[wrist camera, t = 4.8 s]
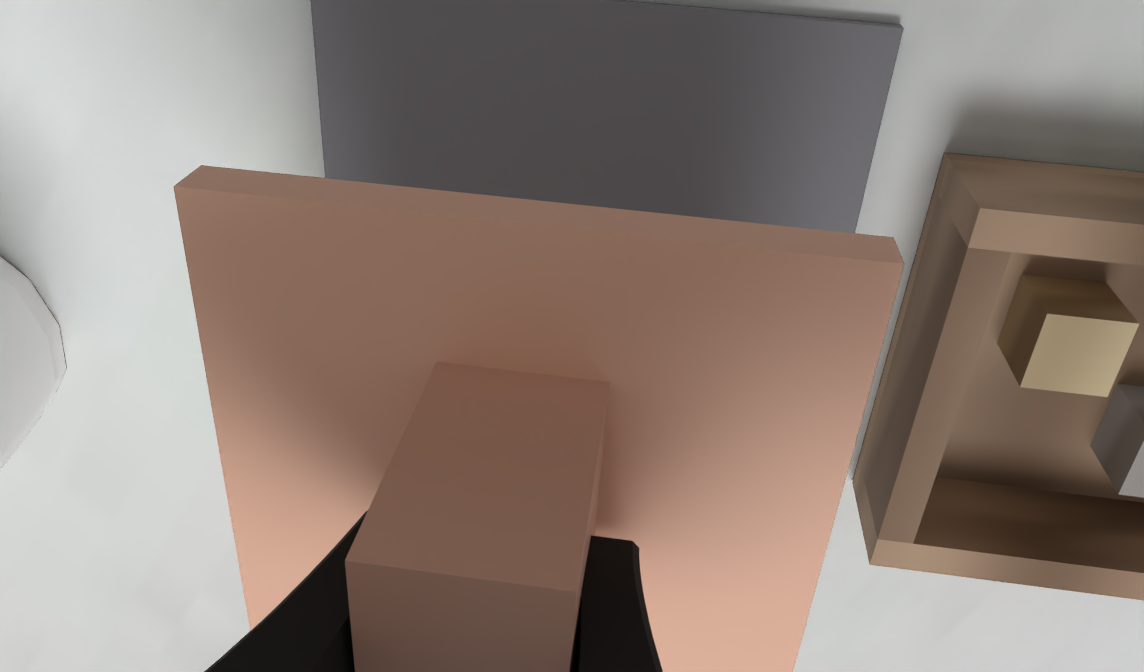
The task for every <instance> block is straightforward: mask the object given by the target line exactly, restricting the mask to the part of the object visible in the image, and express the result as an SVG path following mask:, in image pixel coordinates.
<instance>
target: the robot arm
mask: <svg viewBox="0 0 1144 672" xmlns="http://www.w3.org/2000/svg"><path fill="white" fill-rule="evenodd" d="M367 511H368V510H367ZM367 511H366V512H365V513H364V514H363V515H362V516H361V518H360V519H359V520H358V521H357V522H356V523H355V524H354V526H353V527H352V528H351V529H350V530H349V531H348V532H347V533H346V535H345V536H344V537H343V538H342V539H341V540H340V541H339V542H338V543H337V545H336V546H335V547H334V548H333V549H332V550H331V551H330V552H329V553H328V554H327V555H326V556H325V558H324V559H323V560H322V561H321V562H320V563H319V564H318V565H317V566H316V567H315V568H314V569H313V570H312V571H311V572H310V573H309V575H308V576H307V577H306V578H305V579H304V580H303V581H302V582H301V583H300V584H299V585H298V586H297V587H296V588H295V589H294V590H293V591H292V592H291V593H290V594H289V595H288V596H287V597H286V598H285V599H284V600H283V601H282V602H281V603H280V604H279V605H278V606H277V607H276V608H275V609H274V610H273V611H272V612H270V613H269V614H268V615H267V616H266V617H265V618H264V619H263V620H262V621H261V622H260V623H259V624H258V625H257V626H255V627H254V628H253V629H252V630H251V631H250V632H249V633H248V634H247V635H245V636H244V637H243V638H242V639H241V640H240V641H239V642H238V643H237V644H236V645H234V646H233V647H232V648H231V649H230V650H229V651H228V652H227V653H226V654H225V655H223V656H222V657H221V658H220V659H219V660H218V661H216V662H215V663H214V664H213V665H212V666H211V667H209V668H208V669H207V670H206V671H205V672H355V667H354V656H353V645H352V634H351V623H350V612H349V601H348V591H347V580H346V569H345V559H346V557H347V555H348V553H349V550H350V548H351V546H352V544H353V542H354V540H355V537H356V535H357V533H358V531H359V529H360V527H361V524H362V522H363V520H364V518H365V516H366V514H367ZM574 672H663V670H662V667H661V663H660V660H659V656H658V653H657V649H656V646H655V642H654V639H653V635H652V631H651V627H650V623H649V618H648V613H647V609H646V604H645V599H644V593H643V587H642V580H641V573H640V561H639V547H638V546H637V545H636V544H635V543H634V542H633V541H631V540H623V539H616V538H608V537H600V536H593V535H591V539H590V545H589V550H588V556H587V562H586V568H585V574H584V580H583V586H582V594H581V605H580V616H579V627H578V638H577V649H576V660H575V671H574Z"/></svg>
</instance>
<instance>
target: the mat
mask: <svg viewBox="0 0 1144 672" xmlns="http://www.w3.org/2000/svg"><path fill="white" fill-rule="evenodd" d="M311 11H312V23H313V35H314V47H315V60H316V72H317V84H318V96H319V108H320V120H321V133H322V145H323V157H324V169H325V178H328V179H337V180H347V181H356V182H366V183H375V184H385V185H395V186H404V187H414V188H423V189H433V190H443V191H452V192H462V193H471V194H481V195H491V196H500V197H510V198H519V199H529V200H539V201H548V202H558V203H567V204H577V205H587V206H596V207H606V208H615V209H625V210H634V211H644V212H654V213H663V214H673V215H682V216H692V217H702V218H711V219H721V220H730V221H740V222H750V223H759V224H769V225H778V226H788V227H798V228H807V229H817V230H826V231H836V232H845V233H855V230H856V226H857V221H858V217H859V213H860V209H861V205H862V200H863V196H864V192H865V188H866V183H867V179H868V175H869V171H870V167H871V162H872V158H873V154H874V150H875V146H876V141H877V137H878V133H879V129H880V125H881V120H882V116H883V112H884V108H885V104H886V99H887V95H888V91H889V87H890V83H891V78H892V74H893V70H894V66H895V61H896V57H897V53H898V49H899V45H900V40H901V36H902V32H903V27H902V26H901V25H897V24H886V23H875V22H863V21H852V20H840V19H829V18H817V17H806V16H795V15H783V14H772V13H760V12H749V11H738V10H726V9H715V8H703V7H692V6H681V5H669V4H658V3H646V2H635V1H624V0H311Z"/></svg>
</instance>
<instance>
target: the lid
mask: <svg viewBox="0 0 1144 672" xmlns="http://www.w3.org/2000/svg"><path fill="white" fill-rule="evenodd" d="M174 192H175V198H176V203H177V209H178V215H179V221H180V227H181V232H182V238H183V244H184V250H185V255H186V261H187V267H188V273H189V279H190V284H191V290H192V296H193V302H194V308H195V313H196V319H197V325H198V331H199V336H200V342H201V348H202V354H203V360H204V365H205V371H206V377H207V383H208V388H209V394H210V400H211V406H212V412H213V417H214V423H215V429H216V435H217V440H218V446H219V452H220V458H221V464H222V469H223V475H224V481H225V487H226V492H227V498H228V504H229V510H230V516H231V521H232V527H233V533H234V539H235V544H236V550H237V556H238V562H239V568H240V573H241V579H242V585H243V591H244V597H245V602H246V608H247V614H248V620H249V625H250V631H251V630H252V629H253V628H254V627H255V626H257V625H258V624H259V623H260V622H261V621H262V620H263V619H264V618H265V617H266V616H267V615H268V614H269V613H270V612H272V611H273V610H274V609H275V608H276V607H277V606H278V605H279V604H280V603H281V602H282V601H283V600H284V599H285V598H286V597H287V596H288V595H289V594H290V593H291V592H292V591H293V590H294V589H295V588H296V587H297V586H298V585H299V584H300V583H301V582H302V581H303V580H304V579H305V578H306V577H307V576H308V575H309V573H310V572H311V571H312V570H313V569H314V568H315V567H316V566H317V565H318V564H319V563H320V562H321V561H322V560H323V559H324V558H325V556H326V555H327V554H328V553H329V552H330V551H331V550H332V549H333V548H334V547H335V546H336V545H337V543H338V542H339V541H340V540H341V539H342V538H343V537H344V536H345V535H346V533H347V532H348V531H349V530H350V529H351V528H352V527H353V526H354V524H355V523H356V522H357V521H358V520H359V519H360V518H361V516H362V515H363V514H364V513H365V512H366V511H367V510H368V511H367V514H366V516H365V518H364V520H363V522H362V524H361V527H360V529H359V531H358V533H357V535H356V537H355V540H354V542H353V544H352V546H351V548H350V550H349V553H348V555H347V557H346V559H345V569H346V580H347V591H348V601H349V612H350V623H351V634H352V645H353V656H354V667H355V672H574V671H575V660H576V649H577V638H578V627H579V616H580V605H581V594H582V586H583V580H584V574H585V568H586V562H587V556H588V550H589V545H590V539H591V535H593V536H600V537H608V538H616V539H623V540H631V541H633V542H634V543H635V544H636V545H637V546H638V547H639V561H640V573H641V580H642V587H643V593H644V599H645V604H646V609H647V613H648V618H649V623H650V627H651V631H652V635H653V639H654V642H655V646H656V649H657V653H658V656H659V660H660V663H661V667H662V670H663V672H793V670H794V666H795V662H796V659H797V655H798V651H799V648H800V644H801V641H802V637H803V633H804V630H805V626H806V622H807V619H808V615H809V611H810V608H811V604H812V600H813V597H814V593H815V589H816V586H817V582H818V578H819V575H820V571H821V567H822V564H823V560H824V556H825V553H826V549H827V545H828V542H829V538H830V534H831V531H832V527H833V524H834V520H835V516H836V513H837V509H838V505H839V502H840V498H841V494H842V491H843V487H844V483H845V480H846V476H847V472H848V469H849V465H850V461H851V458H852V454H853V450H854V447H855V443H856V439H857V436H858V432H859V428H860V425H861V421H862V417H863V414H864V410H865V407H866V403H867V399H868V396H869V392H870V388H871V385H872V381H873V377H874V374H875V370H876V366H877V363H878V359H879V355H880V352H881V348H882V344H883V341H884V337H885V333H886V330H887V326H888V322H889V319H890V315H891V311H892V308H893V304H894V300H895V297H896V293H897V289H898V286H899V282H900V279H901V275H902V271H903V268H904V262H903V259H902V257H901V254H900V252H899V250H898V247H897V245H896V242H895V240H894V238H893V237H884V236H874V235H865V234H855V233H845V232H836V231H826V230H817V229H807V228H798V227H788V226H778V225H769V224H759V223H750V222H740V221H730V220H721V219H711V218H702V217H692V216H682V215H673V214H663V213H654V212H644V211H634V210H625V209H615V208H606V207H596V206H587V205H577V204H567V203H558V202H548V201H539V200H529V199H519V198H510V197H500V196H491V195H481V194H471V193H462V192H452V191H443V190H433V189H423V188H414V187H404V186H395V185H385V184H375V183H366V182H356V181H347V180H337V179H328V178H318V177H308V176H299V175H289V174H280V173H270V172H260V171H251V170H241V169H232V168H222V167H212V166H203V165H201V166H200V167H198V168H197V169H196V170H194V171H193V172H192V173H190V174H189V175H188V176H187V177H185V178H184V179H183V180H181V181H180V182H179V183H177V184H176V185H175V186H174Z"/></svg>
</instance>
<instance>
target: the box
mask: <svg viewBox="0 0 1144 672" xmlns="http://www.w3.org/2000/svg"><path fill="white" fill-rule="evenodd" d="M852 483H853V487H854V492H855V497H856V502H857V506H858V511H859V516H860V521H861V525H862V530H863V535H864V540H865V544H866V549H867V554H868V559H869V563H870V565H877V566H884V567H892V568H900V569H907V570H915V571H923V572H930V573H938V574H946V575H954V576H961V577H969V578H977V579H984V580H992V581H1000V582H1007V583H1015V584H1023V585H1030V586H1038V587H1046V588H1053V589H1061V590H1069V591H1076V592H1084V593H1092V594H1099V595H1107V596H1115V597H1123V598H1130V599H1138V600H1144V172H1137V171H1127V170H1117V169H1106V168H1096V167H1086V166H1075V165H1065V164H1055V163H1045V162H1034V161H1024V160H1014V159H1004V158H993V157H983V156H973V155H962V154H952V153H944V155H943V159H942V163H941V166H940V170H939V173H938V177H937V181H936V184H935V188H934V191H933V195H932V198H931V202H930V206H929V209H928V213H927V216H926V220H925V224H924V227H923V231H922V234H921V238H920V242H919V245H918V249H917V252H916V256H915V259H914V263H913V267H912V270H911V274H910V277H909V281H908V285H907V288H906V292H905V295H904V299H903V303H902V306H901V310H900V313H899V317H898V320H897V324H896V328H895V331H894V335H893V338H892V342H891V346H890V349H889V353H888V356H887V360H886V364H885V367H884V371H883V374H882V378H881V381H880V385H879V389H878V392H877V396H876V399H875V403H874V407H873V410H872V414H871V417H870V421H869V425H868V428H867V432H866V435H865V439H864V442H863V446H862V450H861V453H860V457H859V460H858V464H857V468H856V471H855V475H854V478H853V482H852Z"/></svg>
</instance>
